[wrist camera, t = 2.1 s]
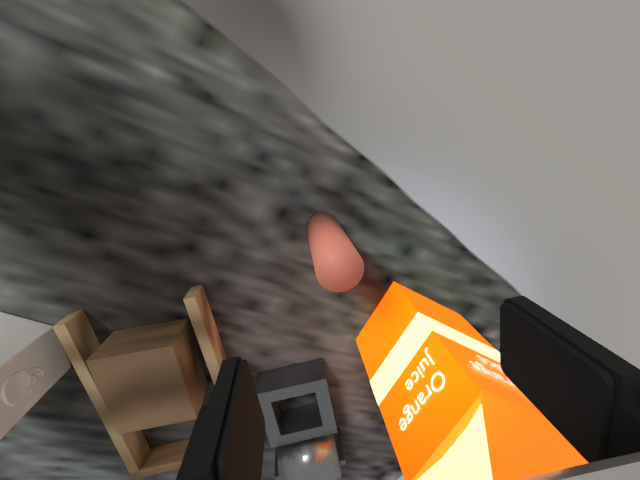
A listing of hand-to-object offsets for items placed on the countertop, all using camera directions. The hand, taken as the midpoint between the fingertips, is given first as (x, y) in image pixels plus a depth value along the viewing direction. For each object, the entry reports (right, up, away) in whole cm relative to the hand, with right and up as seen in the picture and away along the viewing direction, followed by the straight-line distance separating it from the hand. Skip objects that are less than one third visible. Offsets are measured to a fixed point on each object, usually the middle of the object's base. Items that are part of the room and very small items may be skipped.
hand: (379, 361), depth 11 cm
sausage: (-2, +5, +17) cm, 18 cm away
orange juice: (+7, -5, +22) cm, 23 cm away
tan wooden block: (-18, -7, +20) cm, 28 cm away
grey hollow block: (-4, -15, +23) cm, 28 cm away
